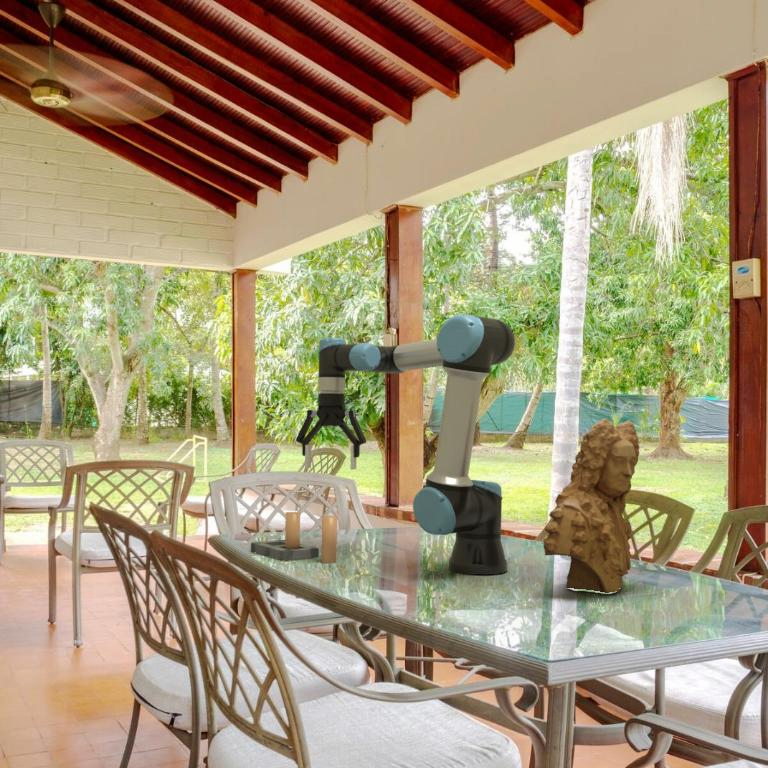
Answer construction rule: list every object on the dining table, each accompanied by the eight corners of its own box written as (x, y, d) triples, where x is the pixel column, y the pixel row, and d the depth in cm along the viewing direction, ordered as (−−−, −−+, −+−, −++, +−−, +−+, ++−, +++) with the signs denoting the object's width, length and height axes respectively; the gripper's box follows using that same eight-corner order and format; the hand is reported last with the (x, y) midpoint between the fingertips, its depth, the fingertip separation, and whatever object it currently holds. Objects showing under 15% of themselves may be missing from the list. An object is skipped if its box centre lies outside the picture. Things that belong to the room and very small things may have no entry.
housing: (318, 557, 237) (318, 548, 237) (284, 561, 230) (284, 551, 230) (284, 548, 251) (284, 539, 251) (250, 551, 244) (251, 542, 244)
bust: (610, 607, 183) (613, 418, 184) (532, 596, 192) (535, 416, 193) (652, 581, 212) (653, 418, 213) (582, 573, 221) (584, 417, 223)
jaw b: (339, 562, 230) (340, 517, 230) (326, 563, 228) (327, 518, 228) (330, 560, 233) (331, 515, 234) (318, 561, 231) (319, 516, 231)
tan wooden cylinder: (302, 557, 237) (303, 513, 237) (289, 558, 235) (290, 514, 235) (294, 555, 240) (295, 511, 241) (281, 556, 238) (282, 512, 238)
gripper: (377, 393, 243) (376, 469, 242) (296, 393, 250) (294, 466, 250) (369, 392, 236) (368, 470, 235) (285, 392, 243) (284, 467, 243)
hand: (330, 468), depth 242 cm, fingers open, 13 cm apart
